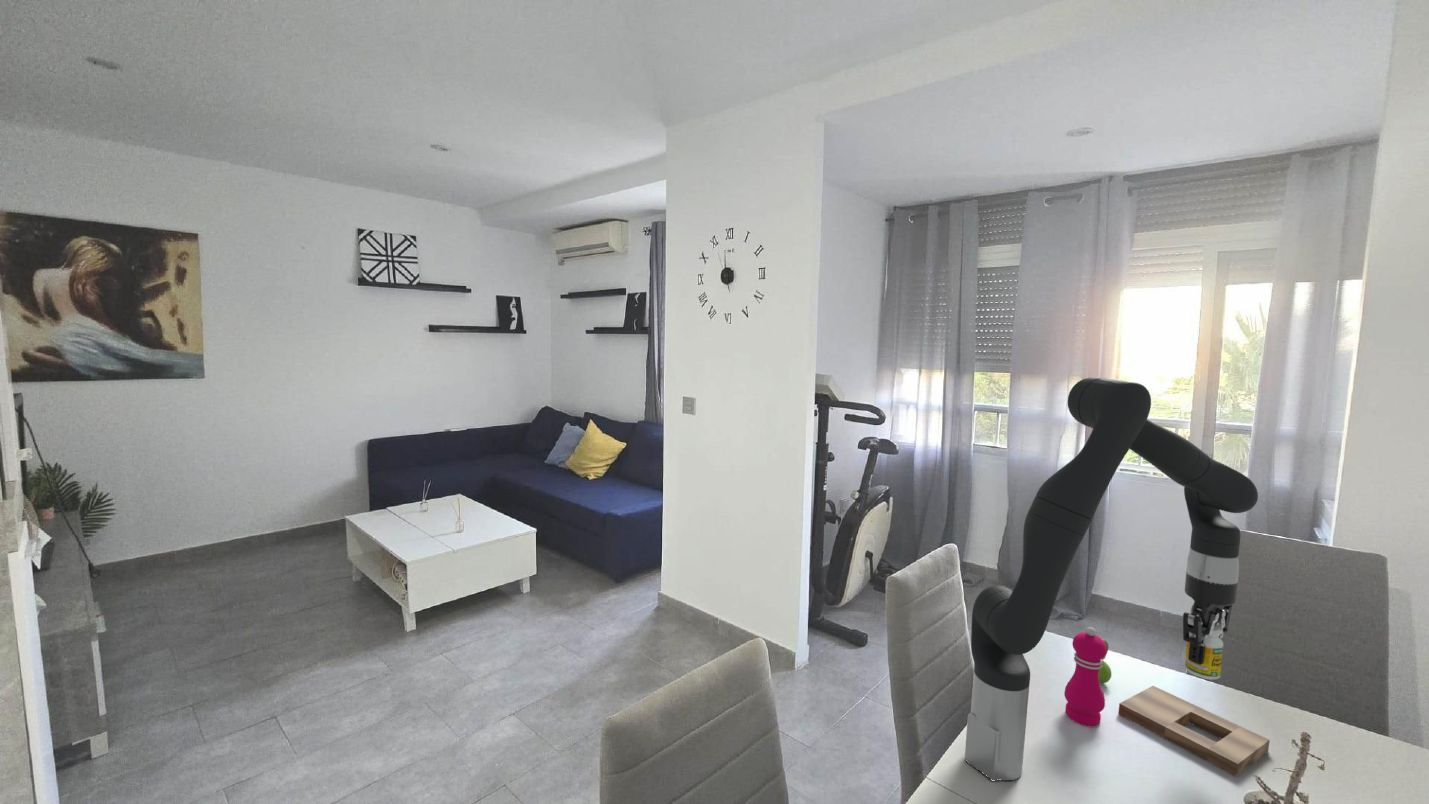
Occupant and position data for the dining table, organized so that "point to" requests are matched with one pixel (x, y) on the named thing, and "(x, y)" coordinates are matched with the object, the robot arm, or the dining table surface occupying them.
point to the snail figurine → (1104, 669)
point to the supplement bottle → (1208, 657)
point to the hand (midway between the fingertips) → (1203, 657)
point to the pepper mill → (1086, 680)
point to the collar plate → (1174, 713)
